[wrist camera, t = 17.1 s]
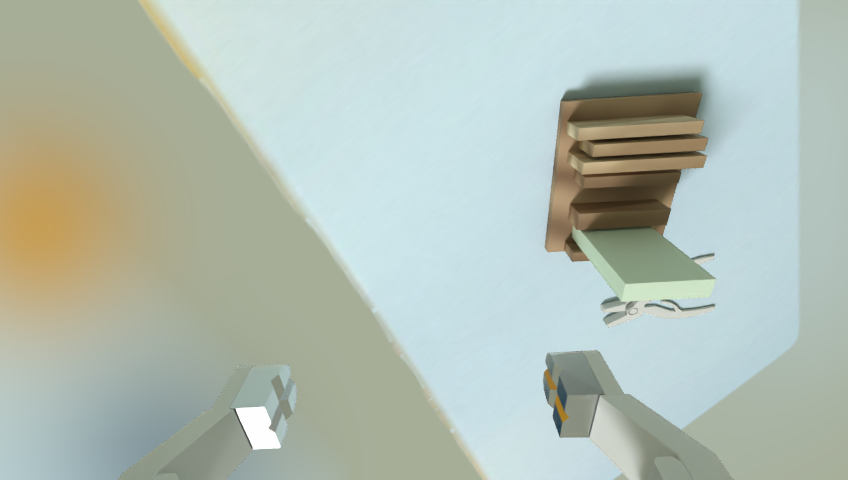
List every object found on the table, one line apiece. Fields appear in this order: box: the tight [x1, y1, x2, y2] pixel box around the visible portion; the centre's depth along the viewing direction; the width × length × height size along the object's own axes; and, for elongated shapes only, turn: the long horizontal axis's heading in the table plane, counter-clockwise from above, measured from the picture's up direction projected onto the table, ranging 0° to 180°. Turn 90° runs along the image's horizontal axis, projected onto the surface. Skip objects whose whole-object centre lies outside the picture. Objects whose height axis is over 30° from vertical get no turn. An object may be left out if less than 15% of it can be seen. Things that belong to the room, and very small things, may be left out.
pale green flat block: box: [571, 226, 716, 302], centre depth 39 cm, size 2×8×13 cm, turn 94°
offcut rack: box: [545, 92, 708, 262], centre depth 40 cm, size 18×14×6 cm
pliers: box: [600, 255, 715, 327], centre depth 51 cm, size 10×2×15 cm
